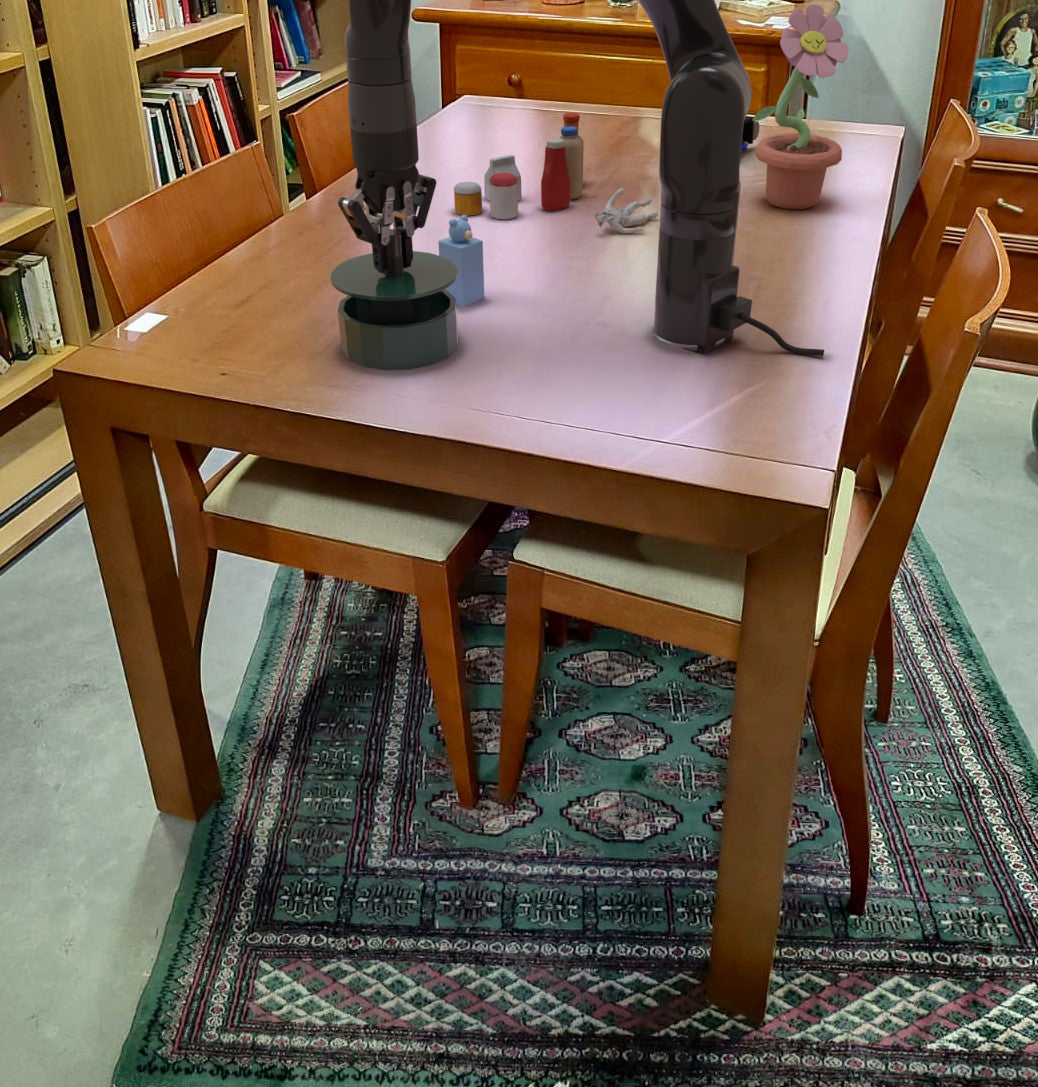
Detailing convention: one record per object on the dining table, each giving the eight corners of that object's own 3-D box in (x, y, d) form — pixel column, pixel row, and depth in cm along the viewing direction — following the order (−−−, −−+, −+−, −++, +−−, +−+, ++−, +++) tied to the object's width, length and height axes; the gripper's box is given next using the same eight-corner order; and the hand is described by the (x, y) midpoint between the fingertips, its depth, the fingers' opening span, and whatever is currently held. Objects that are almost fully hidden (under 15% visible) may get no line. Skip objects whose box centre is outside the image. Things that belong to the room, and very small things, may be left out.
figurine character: (724, 152, 219) (695, 162, 208) (730, 110, 216) (700, 118, 204) (757, 156, 216) (729, 167, 205) (763, 114, 213) (735, 123, 201)
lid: (484, 279, 138) (482, 230, 134) (388, 316, 128) (384, 265, 125) (400, 250, 146) (397, 203, 143) (305, 282, 137) (299, 233, 134)
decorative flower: (767, 220, 181) (790, 17, 164) (730, 195, 192) (747, 2, 175) (850, 211, 184) (881, 11, 167) (809, 187, 195) (834, -4, 178)
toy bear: (484, 301, 155) (482, 217, 148) (463, 310, 152) (460, 224, 146) (462, 293, 157) (458, 210, 151) (441, 301, 155) (436, 217, 148)
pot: (481, 347, 142) (479, 302, 139) (395, 385, 134) (391, 338, 130) (405, 317, 151) (402, 274, 147) (320, 351, 142) (314, 306, 139)
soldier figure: (667, 230, 181) (628, 226, 172) (644, 246, 184) (605, 243, 174) (646, 188, 182) (607, 181, 172) (624, 205, 185) (584, 200, 175)
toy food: (571, 179, 201) (572, 109, 194) (615, 197, 192) (618, 124, 185) (442, 207, 189) (439, 133, 182) (484, 228, 180) (481, 151, 173)
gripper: (356, 139, 121) (370, 293, 130) (450, 115, 129) (457, 261, 139) (312, 127, 125) (329, 277, 135) (407, 104, 133) (416, 247, 143)
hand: (394, 268), depth 137 cm, fingers closed on lid, 2 cm apart
